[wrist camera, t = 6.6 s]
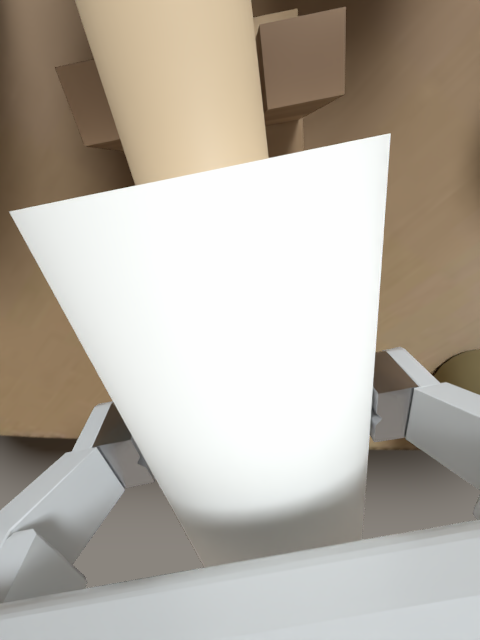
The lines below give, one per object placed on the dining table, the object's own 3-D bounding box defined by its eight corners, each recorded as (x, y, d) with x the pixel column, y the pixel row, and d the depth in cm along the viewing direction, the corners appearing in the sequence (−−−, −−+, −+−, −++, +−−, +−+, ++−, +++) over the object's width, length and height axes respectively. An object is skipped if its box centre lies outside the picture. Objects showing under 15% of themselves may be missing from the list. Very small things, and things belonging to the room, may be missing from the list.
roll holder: (105, 57, 13) (9, -32, 7) (292, 18, 13) (355, -108, 7) (208, 392, 24) (204, 470, 18) (311, 375, 24) (342, 447, 18)
